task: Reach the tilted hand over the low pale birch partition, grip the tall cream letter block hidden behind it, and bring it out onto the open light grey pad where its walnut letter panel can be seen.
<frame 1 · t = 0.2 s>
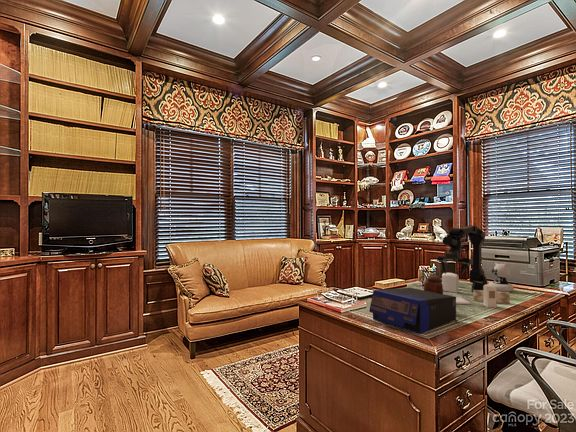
hand: (453, 274, 187), 15 cm above the table, tool pointing down, fingers open, 9 cm apart
decorative figurine: (500, 290, 215), on the table
wooden figurine: (433, 308, 171), on the table
headphone box: (412, 320, 152), on the table
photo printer: (450, 291, 210), on the table
cream letter block: (489, 306, 176), on the table
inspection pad: (454, 301, 186), on the table
birch partition: (491, 301, 185), on the table
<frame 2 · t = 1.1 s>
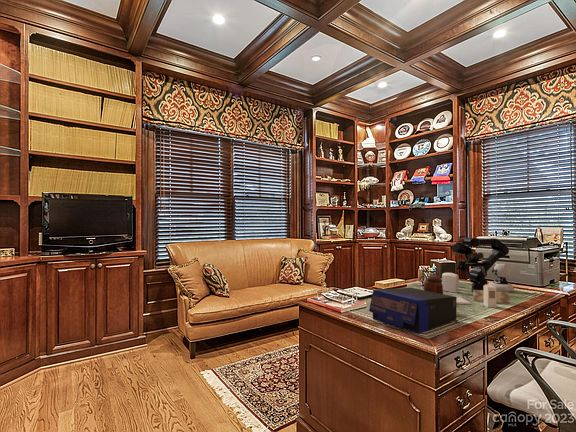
hand: (478, 276, 192), 13 cm above the table, tool tilted 45°, fingers open, 9 cm apart
nothing on the table moved.
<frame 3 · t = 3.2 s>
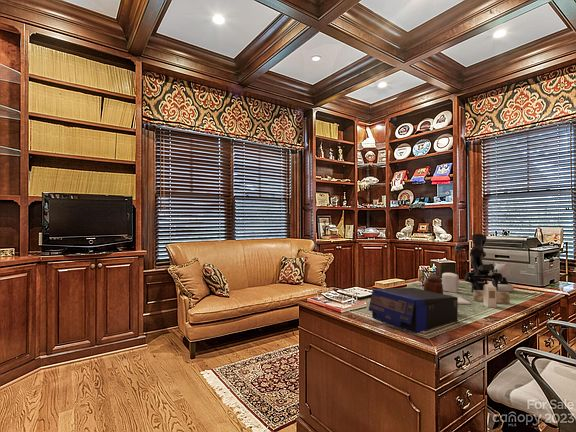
hand: (488, 289, 178), 9 cm above the table, tool tilted 45°, fingers open, 9 cm apart
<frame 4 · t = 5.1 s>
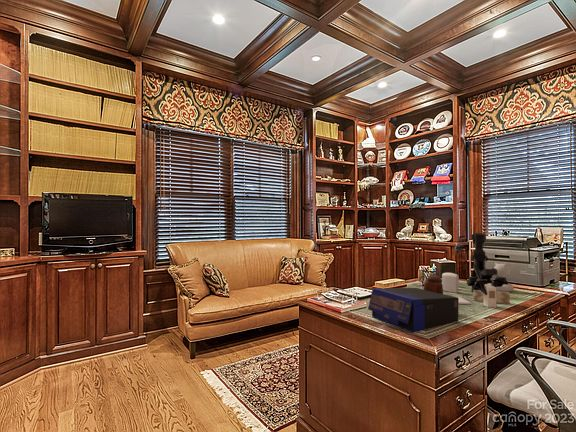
hand: (491, 294, 175), 7 cm above the table, tool tilted 45°, fingers closed on cream letter block, 4 cm apart
cream letter block: (489, 306, 176), on the table, touching gripper
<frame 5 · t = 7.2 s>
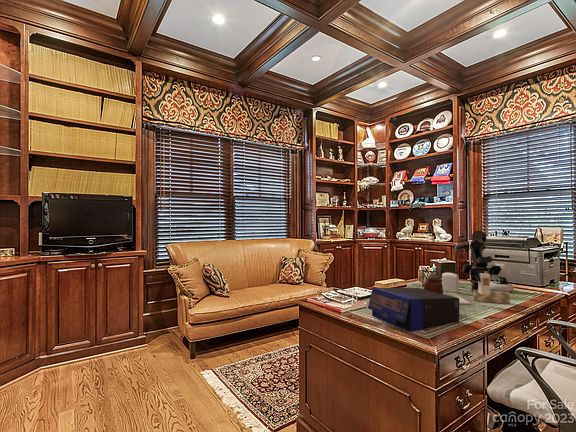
hand: (485, 282, 176), 13 cm above the table, tool tilted 45°, fingers closed on cream letter block, 4 cm apart
cream letter block: (484, 293, 177), point 7 cm above the table, touching gripper
when the fingers open (9 cm above the table, at t = 9.6 s): cream letter block drops 1 cm, resting on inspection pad.
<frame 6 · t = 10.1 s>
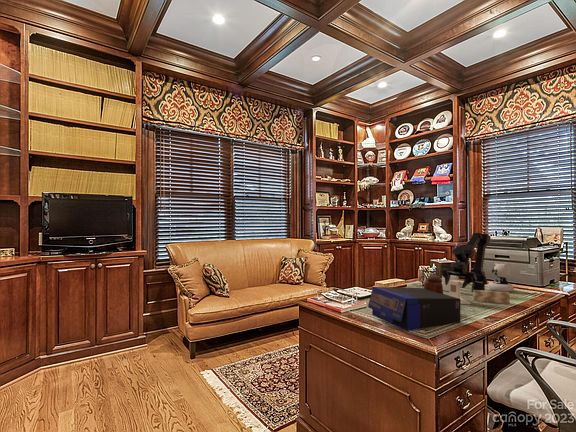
hand: (454, 286, 185), 9 cm above the table, tool tilted 45°, fingers open, 9 cm apart
cream letter block: (454, 299, 186), point 1 cm above the table, touching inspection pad
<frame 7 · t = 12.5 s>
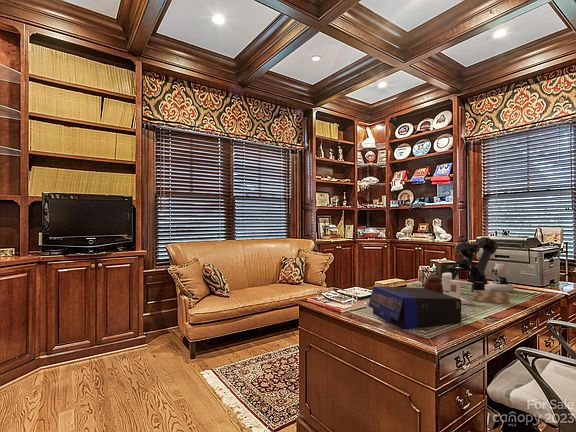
hand: (460, 281, 191), 11 cm above the table, tool tilted 40°, fingers open, 9 cm apart
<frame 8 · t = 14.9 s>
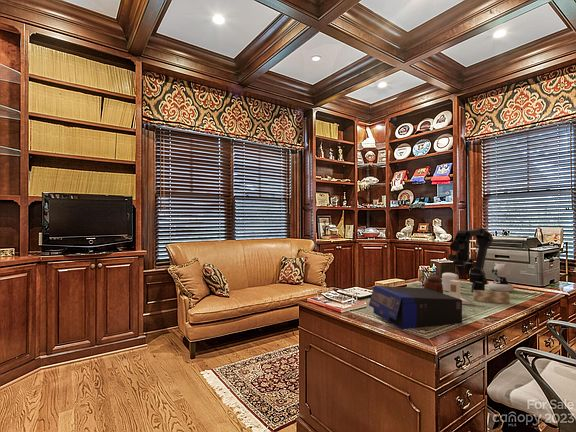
hand: (463, 275, 198), 13 cm above the table, tool pointing down, fingers open, 9 cm apart
at the end: cream letter block inside the target area on the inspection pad (0.0 cm from its centre), point 1.0 cm above the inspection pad's base; cream letter block tilted 0°; the gripper is holding nothing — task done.
